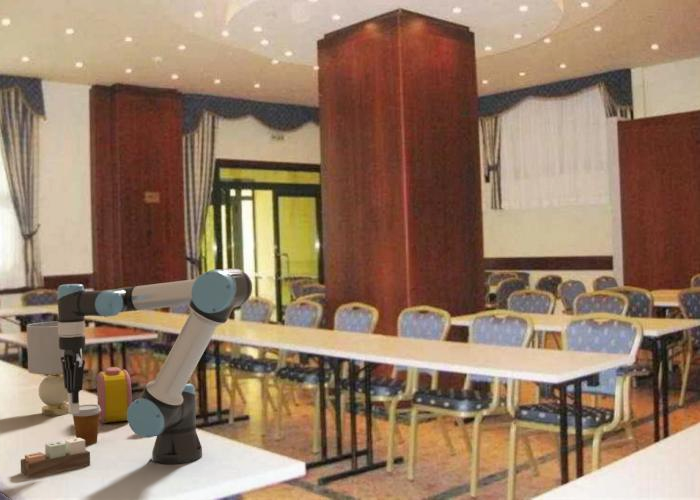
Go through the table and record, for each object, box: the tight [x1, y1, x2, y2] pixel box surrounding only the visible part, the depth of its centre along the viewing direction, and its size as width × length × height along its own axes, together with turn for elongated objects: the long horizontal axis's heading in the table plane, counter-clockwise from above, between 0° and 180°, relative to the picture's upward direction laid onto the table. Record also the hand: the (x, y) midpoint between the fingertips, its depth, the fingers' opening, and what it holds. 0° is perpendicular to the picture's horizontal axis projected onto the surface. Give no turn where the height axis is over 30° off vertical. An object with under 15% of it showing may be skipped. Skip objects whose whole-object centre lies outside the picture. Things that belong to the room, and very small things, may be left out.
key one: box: [64, 437, 87, 455], centre depth 238 cm, size 4×4×5 cm
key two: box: [44, 440, 66, 459], centre depth 234 cm, size 4×4×5 cm
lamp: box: [26, 320, 83, 417], centre depth 311 cm, size 20×20×35 cm
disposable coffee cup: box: [71, 403, 101, 446], centre depth 264 cm, size 10×10×12 cm
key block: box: [20, 449, 91, 479], centre depth 234 cm, size 7×18×4 cm, turn 131°
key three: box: [24, 451, 46, 463], centre depth 231 cm, size 4×4×5 cm
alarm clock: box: [96, 366, 133, 424], centre depth 297 cm, size 18×11×19 cm, turn 22°
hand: (74, 413), depth 238 cm, fingers closed
